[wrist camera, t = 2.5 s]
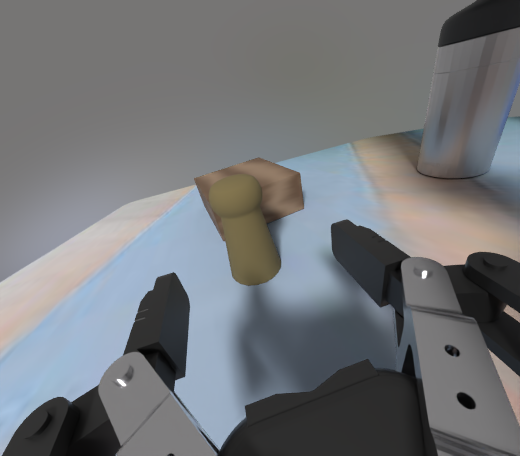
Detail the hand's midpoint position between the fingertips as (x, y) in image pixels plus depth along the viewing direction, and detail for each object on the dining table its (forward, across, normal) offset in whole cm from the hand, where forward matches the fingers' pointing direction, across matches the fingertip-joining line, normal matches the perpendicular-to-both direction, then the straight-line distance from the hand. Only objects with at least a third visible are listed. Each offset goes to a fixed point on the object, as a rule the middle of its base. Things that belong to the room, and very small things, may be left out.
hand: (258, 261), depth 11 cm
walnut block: (+28, -2, +10) cm, 30 cm away
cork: (+12, 0, +10) cm, 15 cm away
